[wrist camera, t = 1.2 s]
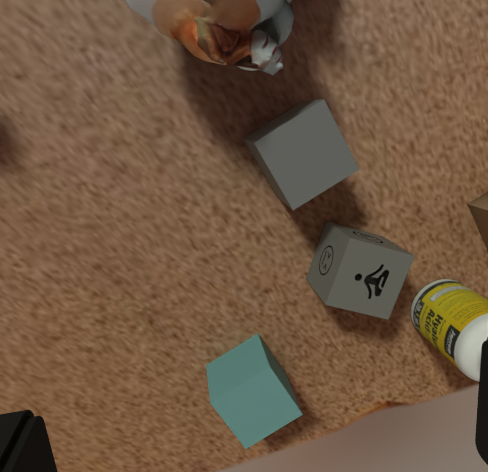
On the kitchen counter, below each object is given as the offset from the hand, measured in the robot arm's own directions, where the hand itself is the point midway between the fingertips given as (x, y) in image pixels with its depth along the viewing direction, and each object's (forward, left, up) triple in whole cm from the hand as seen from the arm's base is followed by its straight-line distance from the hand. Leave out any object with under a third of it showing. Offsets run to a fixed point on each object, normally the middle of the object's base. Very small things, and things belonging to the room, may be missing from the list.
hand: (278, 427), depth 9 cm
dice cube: (-7, +10, -24) cm, 27 cm away
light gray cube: (-7, 0, -24) cm, 25 cm away
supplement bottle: (-12, +18, -24) cm, 33 cm away
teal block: (+5, +14, -24) cm, 28 cm away
